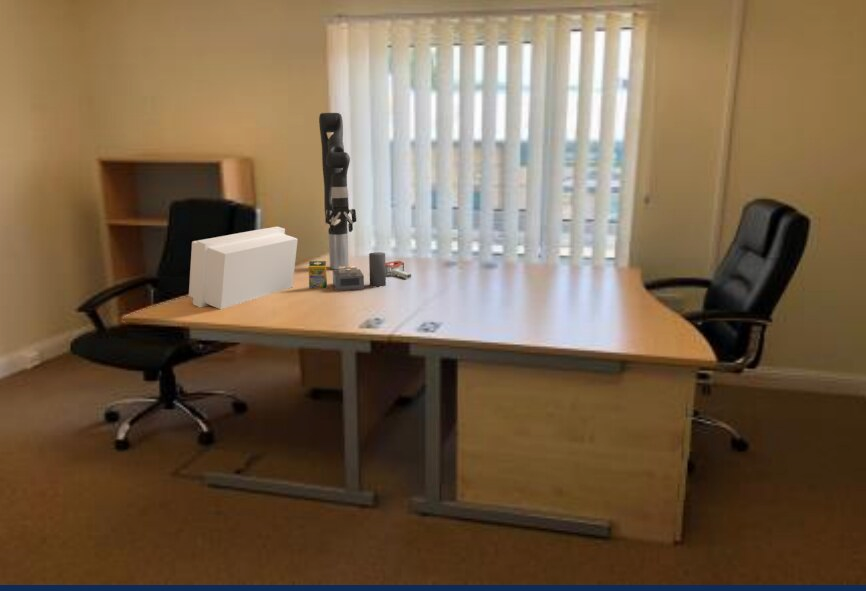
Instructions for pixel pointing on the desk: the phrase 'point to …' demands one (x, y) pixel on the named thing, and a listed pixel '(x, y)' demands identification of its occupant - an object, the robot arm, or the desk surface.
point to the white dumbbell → (352, 269)
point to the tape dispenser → (397, 269)
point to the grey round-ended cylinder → (377, 269)
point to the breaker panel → (348, 280)
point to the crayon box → (317, 274)
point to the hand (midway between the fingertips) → (341, 232)
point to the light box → (241, 267)
